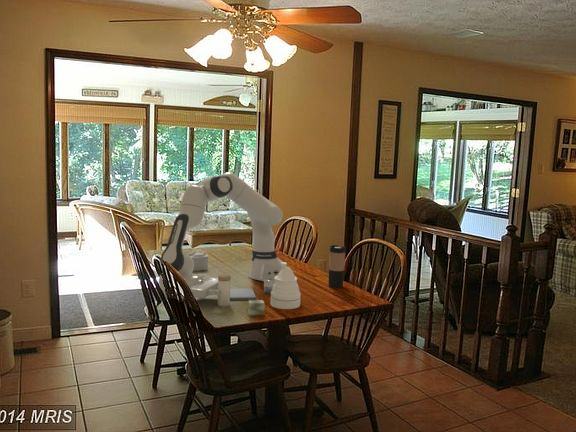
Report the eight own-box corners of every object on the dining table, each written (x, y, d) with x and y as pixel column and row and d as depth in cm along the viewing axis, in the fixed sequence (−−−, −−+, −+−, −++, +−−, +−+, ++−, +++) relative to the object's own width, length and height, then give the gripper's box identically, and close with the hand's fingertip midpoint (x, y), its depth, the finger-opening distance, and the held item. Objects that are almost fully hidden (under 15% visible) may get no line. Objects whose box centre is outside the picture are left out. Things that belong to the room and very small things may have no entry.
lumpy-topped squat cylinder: (191, 271, 271) (191, 255, 270) (183, 265, 282) (183, 250, 281) (209, 269, 276) (210, 253, 275) (201, 264, 287) (201, 249, 286)
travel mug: (330, 288, 247) (333, 248, 244) (325, 284, 254) (327, 245, 252) (345, 288, 249) (347, 248, 246) (340, 284, 256) (342, 245, 254)
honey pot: (264, 303, 220) (265, 262, 218) (285, 298, 229) (287, 259, 226) (284, 311, 211) (286, 268, 208) (306, 305, 220) (308, 264, 217)
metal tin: (275, 290, 240) (276, 278, 239) (277, 294, 234) (278, 281, 234) (263, 290, 239) (263, 278, 238) (264, 294, 233) (265, 281, 232)
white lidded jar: (229, 302, 220) (230, 274, 218) (230, 306, 214) (231, 278, 213) (217, 302, 219) (217, 275, 217) (217, 306, 213) (218, 278, 212)
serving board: (252, 290, 238) (252, 288, 238) (255, 299, 225) (255, 297, 224) (217, 291, 235) (218, 288, 235) (219, 300, 222) (219, 297, 222)
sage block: (262, 311, 209) (263, 300, 209) (264, 315, 205) (264, 303, 205) (248, 312, 208) (248, 300, 207) (249, 315, 204) (249, 303, 204)
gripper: (183, 284, 209) (213, 288, 205) (204, 273, 229) (233, 276, 225) (182, 299, 210) (213, 303, 206) (204, 287, 229) (233, 290, 226)
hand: (224, 289), depth 216 cm, fingers open, 8 cm apart
